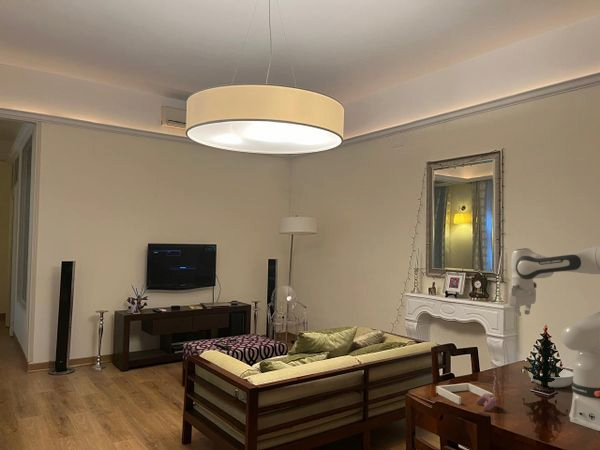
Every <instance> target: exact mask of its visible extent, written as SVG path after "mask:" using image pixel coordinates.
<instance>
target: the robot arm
mask: <svg viewBox="0 0 600 450" xmlns="http://www.w3.org/2000/svg"><path fill="white" fill-rule="evenodd" d="M510 259H511V260H510V268H511V279H510V281H511V283H510V284H511V289H510V290H509V293H508V294H509V295H508V304H509V306H510V307H513V309H514V310H513V311H514V313H515V316H516V317H521V316H522V312H521V310H520V309H521V307H522V306H523V307H524V315H530V313H531V307H532V305H534V304H535V303H536V300H537V289H536V288H537V287H538V284H537V283H536V282H535V281H534V279H546V278H550V277H551V276H552V275H554V273H558V272H568V273H578V274H579V273H580V274H588V275H600V245H596V246H592V247H587V248H584V249H580V250H577V251H574V252H571V253H567V254H564V255H563V254H562V255H560V256H559V255H556V256H551V257H550V256H548V257H547V256H544V255H541V254H538V253H536V252H534V251H533V250H531V249H530V248H517V249H515V250H513V252H512V253H511V257H510ZM560 337H561V340H562V343H563V345H564V346H565V347H566V348H567V349H569V350H571V351H576V352H577V355H576V357H575V358H574V360H573V362H572V372H573V382H572V383H571V391H572V401H571V406H570V407H571V408H570V412H569V414H568V417H569V421H570V422H571V423H574V424H577V425H580V426H582V427H586V428H589V429H592V430H595V431H597V432H600V311H598V312H596V313H593V314H592V315H588V316H587V317H584V318H582V319H579V320H578V321H576V322H574V323H572V324H570V325H568V326H566V327H564V328H563V330H562V331H561V336H560Z"/></svg>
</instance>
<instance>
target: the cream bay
mask: <svg viewBox="0 0 600 450" xmlns="http://www.w3.org/2000/svg"><path fill="white" fill-rule="evenodd" d="M464 391H469V392H471V393H473V394H475V395H478V396H479V397H481V396H482V395H483V394H485V393H487V394H491V395H493V396H494V393H492V392H490V391H489V390H485V389H484V388H481V387H479V386H477V385H475V384H474V385H473V384H472V383H469V382H465V383H456V384H445V385H436V386H435V393H436V394H437V393H438V395H440V396H442V397H443V398H445V399H447V400H450V401H451V402H454V403H455V404H457V405H462V397H461V396H459V395H458V394H455V393H454V392H464Z"/></svg>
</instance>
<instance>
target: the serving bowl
mask: <svg viewBox="0 0 600 450" xmlns="http://www.w3.org/2000/svg"><path fill="white" fill-rule="evenodd" d="M562 369H563V370H562V371H561V372H560V373H559V376H560V377H551V378H554V379H555V380H554V381H552V382H548V386H549V387H548V388H552V387H553V389H557V388H564V387H565V388H566V387H569V386H570V385H572V382H573V371H571V370H568V369H564V368H562ZM527 373H528V376H529V378H530V379H531V380H532V381H533V382H534V383H536V384H538V385H541V381H539V380H534V379H533V374H532V373H531V372H529V371H528V370H527Z"/></svg>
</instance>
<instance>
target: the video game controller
mask: <svg viewBox="0 0 600 450" xmlns="http://www.w3.org/2000/svg"><path fill="white" fill-rule="evenodd" d="M475 402H476V404H477V405H484V406H483V408H482V410H483V411H484V412H489V411H491V410H492V409H493V408H494V407H496V406H497V399H496V397H495V395H494V394H493V395H491V394H487V393H485V394H483V395H482V396H479V397H478V399H477V400H476V401H475Z"/></svg>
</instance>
